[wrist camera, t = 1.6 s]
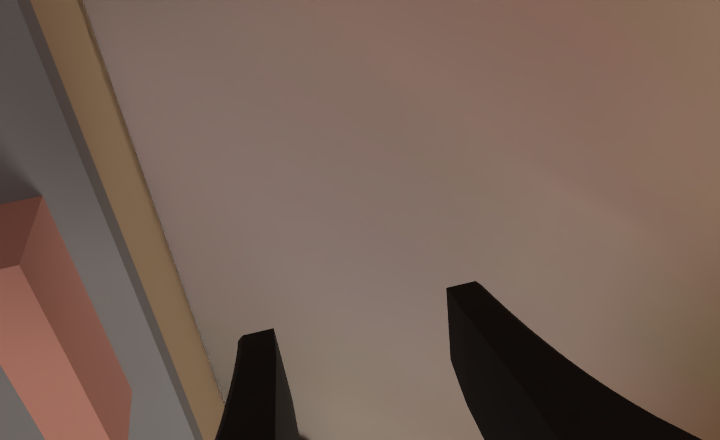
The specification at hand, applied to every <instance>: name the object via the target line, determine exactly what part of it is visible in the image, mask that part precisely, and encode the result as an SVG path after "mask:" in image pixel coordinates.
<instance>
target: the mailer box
mask: <svg viewBox="0 0 720 440" xmlns="http://www.w3.org/2000/svg"><path fill="white" fill-rule="evenodd" d="M30 1H31V3H32V6H33V9H34V11H35V14H36V16H37V19H38V21H39V24H40V26H41V29H42V31H43V34H44V36H45V39H46V42H47V44H48V47H49V49H50V52H51V54H52V57H53V59H54V62H55V64H56V67H57V69H58V72H59V74H60V77H61V80H62V82H63V85H64V87H65V90H66V92H67V95H68V97H69V100H70V102H71V105H72V107H73V110H74V113H75V115H76V118H77V120H78V123H79V125H80V128H81V130H82V133H83V135H84V138H85V140H86V143H87V146H88V148H89V151H90V153H91V156H92V158H93V161H94V163H95V166H96V168H97V171H98V173H99V176H100V179H101V181H102V184H103V186H104V189H105V191H106V194H107V196H108V199H109V201H110V204H111V206H112V209H113V211H114V214H115V217H116V219H117V222H118V224H119V227H120V229H121V232H122V234H123V237H124V239H125V242H126V244H127V247H128V250H129V252H130V255H131V257H132V260H133V262H134V265H135V267H136V270H137V272H138V275H139V277H140V280H141V283H142V285H143V288H144V290H145V293H146V295H147V298H148V300H149V303H150V305H151V308H152V310H153V313H154V316H155V318H156V321H157V323H158V326H159V328H160V331H161V333H162V336H163V338H164V341H165V343H166V346H167V349H168V351H169V354H170V356H171V359H172V361H173V364H174V366H175V369H176V371H177V374H178V376H179V379H180V381H181V384H182V387H183V389H184V392H185V394H186V397H187V399H188V402H189V404H190V407H191V409H192V412H193V414H194V417H195V420H196V422H197V425H198V427H199V430H200V432H201V435H202V437H203V440H215V437H216V434H217V431H218V428H219V425H220V422H221V418H222V415H223V411H224V408H225V406H224V403H223V400H222V398H221V395H220V392H219V389H218V386H217V383H216V380H215V378H214V375H213V372H212V369H211V366H210V363H209V361H208V358H207V355H206V352H205V349H204V346H203V343H202V341H201V338H200V335H199V332H198V329H197V326H196V323H195V321H194V318H193V315H192V312H191V309H190V306H189V303H188V301H187V298H186V295H185V292H184V289H183V286H182V284H181V281H180V278H179V275H178V272H177V269H176V266H175V264H174V261H173V258H172V255H171V252H170V249H169V246H168V244H167V241H166V238H165V235H164V232H163V229H162V227H161V224H160V221H159V218H158V215H157V212H156V209H155V207H154V204H153V201H152V198H151V195H150V192H149V189H148V187H147V184H146V181H145V178H144V175H143V172H142V169H141V167H140V164H139V161H138V158H137V155H136V152H135V150H134V147H133V144H132V141H131V138H130V135H129V132H128V130H127V127H126V124H125V121H124V118H123V115H122V112H121V110H120V107H119V104H118V101H117V98H116V95H115V92H114V90H113V87H112V84H111V81H110V78H109V75H108V73H107V70H106V67H105V64H104V61H103V58H102V55H101V53H100V50H99V47H98V44H97V41H96V38H95V35H94V33H93V30H92V27H91V24H90V21H89V18H88V16H87V13H86V10H85V7H84V4H83V1H82V0H30Z"/></svg>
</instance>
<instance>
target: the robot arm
mask: <svg viewBox="0 0 720 440" xmlns="http://www.w3.org/2000/svg"><path fill="white" fill-rule="evenodd" d="M446 289H447V306H448V322H449V339H450V356H451V362H452V365H453V368H454V370H455V373H456V376H457V379H458V382H459V384H460V387H461V390H462V392H463V395H464V398H465V401H466V403H467V406H468V408H469V410H470V412H471V414H472V416H473V418H474V420H475V422H476V424H477V426H478V428H479V430H480V432H481V434H482V436H483V438H484V440H702V439H700V438H698V437H696V436H694V435H692V434H690V433H688V432H686V431H684V430H682V429H680V428H678V427H676V426H674V425H672V424H670V423H668V422H666V421H664V420H662V419H660V418H658V417H656V416H655V415H653V414H651V413H649V412H648V411H646V410H644V409H642V408H641V407H639V406H637V405H635V404H634V403H632V402H630V401H629V400H627V399H626V398H624V397H622V396H621V395H619V394H617V393H616V392H614V391H613V390H611V389H610V388H608V387H607V386H605V385H603V384H602V383H600V382H599V381H598V380H596V379H595V378H593V377H592V376H590V375H589V374H587V373H586V372H585V371H583V370H582V369H580V368H579V367H578V366H576V365H575V364H574V363H572V362H571V361H569V360H568V359H567V358H565V357H564V356H563V355H562V354H560V353H559V352H558V351H556V350H555V349H554V348H553V347H551V346H550V345H549V344H548V343H546V342H545V341H544V340H543V339H541V338H540V337H539V336H538V335H536V334H535V333H534V332H533V331H532V330H530V329H529V328H528V327H527V326H526V325H525V324H523V323H522V322H521V321H520V320H519V319H518V318H516V317H515V316H514V315H513V314H512V313H511V312H510V311H509V310H507V309H506V308H505V307H504V306H503V305H502V304H501V303H500V302H499V301H498V300H497V299H495V298H494V297H493V296H492V295H491V294H490V293H489V292H488V291H487V290H486V289H485V288H484V287H483V286H482V285H481V284H479V283H478V282H476V281H474V282H470V283H466V284H462V285H457V286H453V287H449V288H446ZM215 440H300V439H299V434H298V428H297V423H296V417H295V412H294V407H293V401H292V397H291V393H290V389H289V385H288V381H287V378H286V374H285V370H284V366H283V362H282V359H281V355H280V351H279V347H278V343H277V340H276V336H275V332H274V328H273V329H269V330H265V331H260V332H256V333H252V334H247V335H243V336H242V337H241V338H240V340H239V341H238V349H237V356H236V362H235V368H234V373H233V377H232V381H231V386H230V390H229V394H228V397H227V401H226V404H225V408H224V411H223V415H222V418H221V422H220V425H219V428H218V431H217V434H216V437H215Z"/></svg>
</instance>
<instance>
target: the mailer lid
mask: <svg viewBox="0 0 720 440" xmlns="http://www.w3.org/2000/svg"><path fill="white" fill-rule="evenodd" d="M0 440H203V437H202V435H201V432H200V430H199V427H198V425H197V422H196V420H195V417H194V414H193V412H192V409H191V407H190V404H189V402H188V399H187V397H186V394H185V392H184V389H183V387H182V384H181V381H180V379H179V376H178V374H177V371H176V369H175V366H174V364H173V361H172V359H171V356H170V354H169V351H168V349H167V346H166V343H165V341H164V338H163V336H162V333H161V331H160V328H159V326H158V323H157V321H156V318H155V316H154V313H153V310H152V308H151V305H150V303H149V300H148V298H147V295H146V293H145V290H144V288H143V285H142V283H141V280H140V277H139V275H138V272H137V270H136V267H135V265H134V262H133V260H132V257H131V255H130V252H129V250H128V247H127V244H126V242H125V239H124V237H123V234H122V232H121V229H120V227H119V224H118V222H117V219H116V217H115V214H114V211H113V209H112V206H111V204H110V201H109V199H108V196H107V194H106V191H105V189H104V186H103V184H102V181H101V179H100V176H99V173H98V171H97V168H96V166H95V163H94V161H93V158H92V156H91V153H90V151H89V148H88V146H87V143H86V140H85V138H84V135H83V133H82V130H81V128H80V125H79V123H78V120H77V118H76V115H75V113H74V110H73V107H72V105H71V102H70V100H69V97H68V95H67V92H66V90H65V87H64V85H63V82H62V80H61V77H60V74H59V72H58V69H57V67H56V64H55V62H54V59H53V57H52V54H51V52H50V49H49V47H48V44H47V42H46V39H45V36H44V34H43V31H42V29H41V26H40V24H39V21H38V19H37V16H36V14H35V11H34V9H33V6H32V3H31V1H30V0H0Z"/></svg>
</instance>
